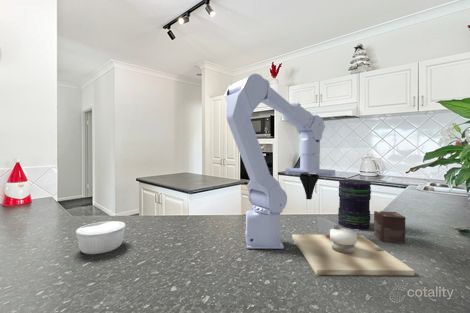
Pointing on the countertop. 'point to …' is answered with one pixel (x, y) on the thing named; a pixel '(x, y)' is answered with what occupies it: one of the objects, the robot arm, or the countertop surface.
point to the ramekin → (100, 237)
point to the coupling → (337, 232)
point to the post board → (348, 257)
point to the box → (389, 226)
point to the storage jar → (354, 204)
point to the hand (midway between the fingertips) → (309, 198)
